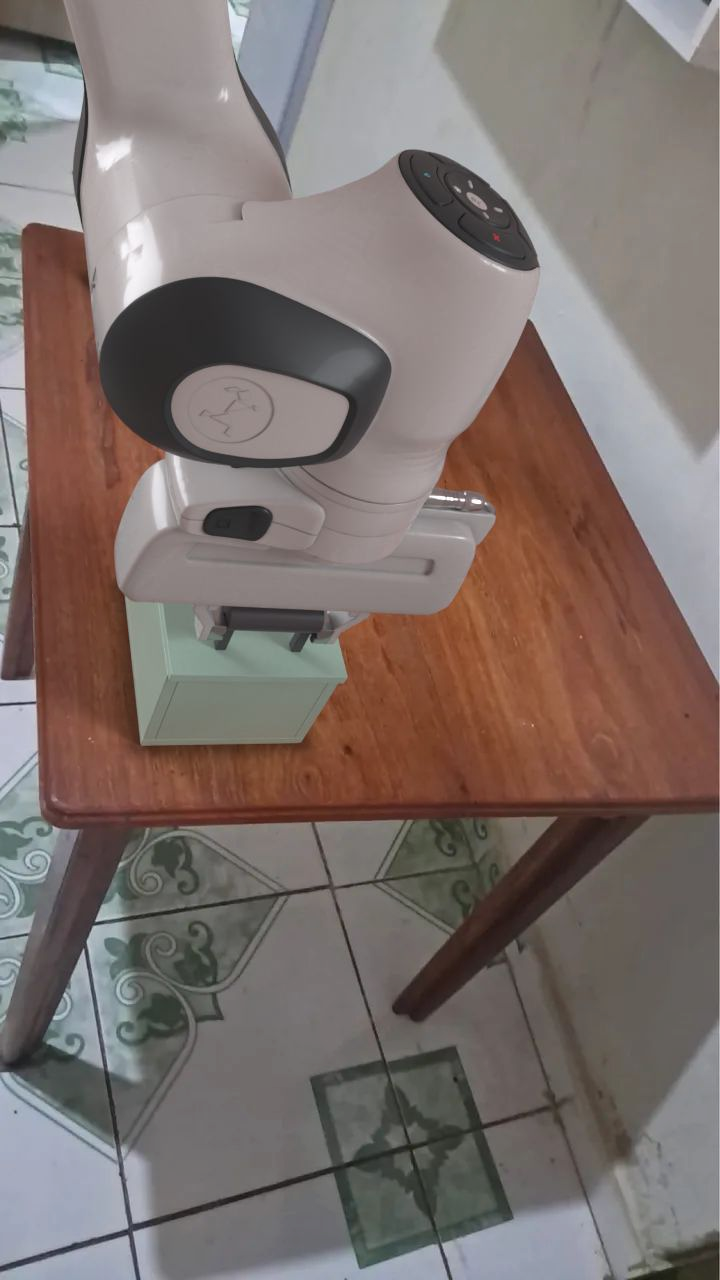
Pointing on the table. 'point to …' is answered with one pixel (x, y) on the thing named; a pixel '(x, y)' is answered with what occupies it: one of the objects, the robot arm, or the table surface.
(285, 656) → the lid
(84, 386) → the table surface
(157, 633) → the light green open box
